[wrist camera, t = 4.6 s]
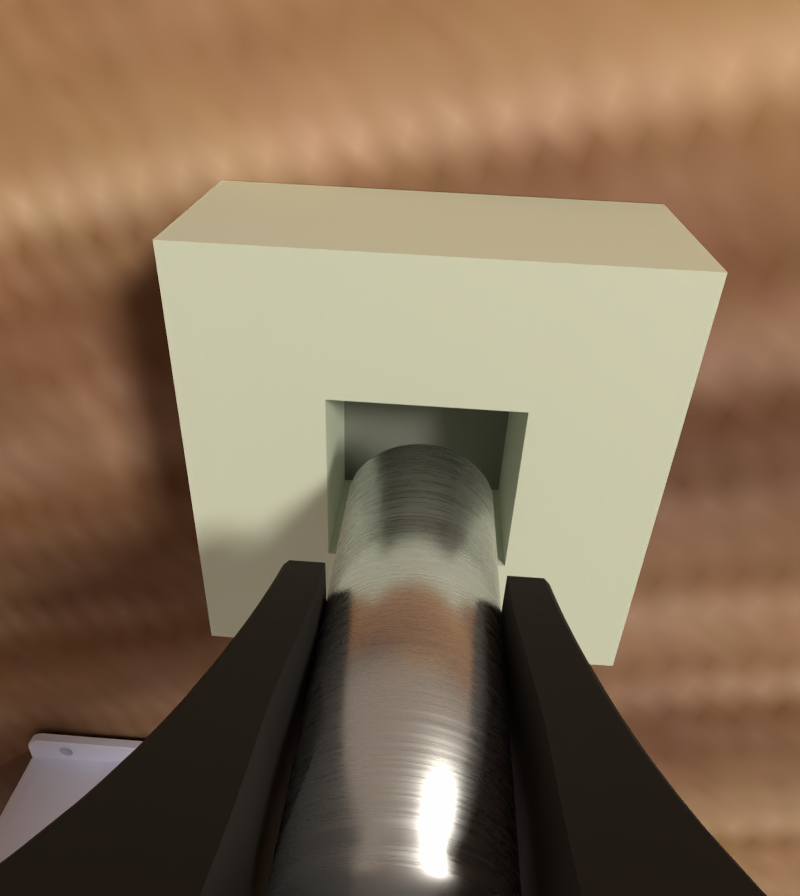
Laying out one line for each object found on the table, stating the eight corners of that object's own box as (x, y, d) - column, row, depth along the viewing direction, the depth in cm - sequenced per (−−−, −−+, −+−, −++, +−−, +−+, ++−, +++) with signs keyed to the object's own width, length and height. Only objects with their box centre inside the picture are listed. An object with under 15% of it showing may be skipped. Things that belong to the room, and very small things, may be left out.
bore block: (253, 523, 22) (211, 635, 18) (221, 180, 17) (152, 239, 13) (584, 546, 22) (612, 665, 18) (663, 204, 16) (726, 272, 12)
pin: (353, 558, 16) (279, 983, 9) (342, 443, 14) (241, 858, 8) (491, 560, 16) (517, 997, 9) (495, 444, 14) (533, 872, 7)
